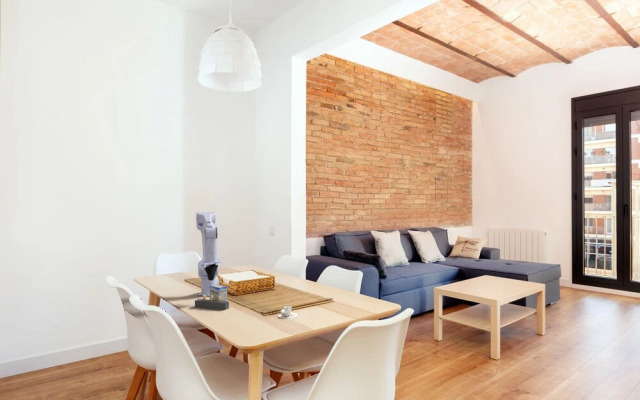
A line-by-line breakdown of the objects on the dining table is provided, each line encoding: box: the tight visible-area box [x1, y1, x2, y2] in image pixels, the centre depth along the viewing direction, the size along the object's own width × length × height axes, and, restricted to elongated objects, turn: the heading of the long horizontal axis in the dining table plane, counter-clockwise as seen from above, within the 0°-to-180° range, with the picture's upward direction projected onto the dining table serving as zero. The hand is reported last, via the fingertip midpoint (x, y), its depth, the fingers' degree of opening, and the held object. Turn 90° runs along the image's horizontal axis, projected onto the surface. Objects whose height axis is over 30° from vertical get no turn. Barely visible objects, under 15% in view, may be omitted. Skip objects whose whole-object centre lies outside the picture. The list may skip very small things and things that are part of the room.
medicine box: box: [209, 284, 228, 301], centre depth 183 cm, size 8×4×9 cm, turn 53°
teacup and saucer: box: [277, 305, 298, 320], centre depth 164 cm, size 9×8×4 cm
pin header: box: [194, 295, 230, 311], centre depth 177 cm, size 3×16×6 cm, turn 73°
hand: (211, 280), depth 187 cm, fingers closed
